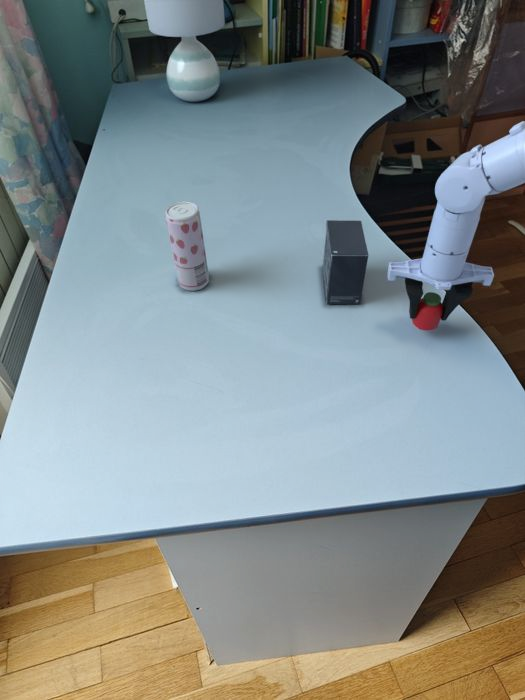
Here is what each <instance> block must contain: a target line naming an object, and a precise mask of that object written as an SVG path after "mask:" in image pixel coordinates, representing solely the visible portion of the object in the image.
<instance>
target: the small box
mask: <svg viewBox="0 0 525 700" xmlns="http://www.w3.org/2000/svg"><path fill="white" fill-rule="evenodd" d="M325 223H326V225H325V226H326V227H325V228H326V229H325V230H326V231H325V238H324V239H325V240H324V248H323V249H324V251H323V259H322V268H321V269H322V271H321V272H322V282H323V292H324V293H323V294H324V301H325V302H324V303H325V304H326V305H361V303H362V302H361V301H362V296H363V290H364V283H365V279H366V273H367V266H368V262H369V256H370V255H369V251H368V247H367V246H368V245H367V242H366V237H365V232H364V228H363V223H362V221H361V220H337V219H336V220H335V219H334V220H332V219H330V220H326V222H325Z"/></svg>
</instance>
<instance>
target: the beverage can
mask: <svg viewBox="0 0 525 700" xmlns="http://www.w3.org/2000/svg"><path fill="white" fill-rule="evenodd" d="M201 219H202V218H201V213H200V210H199V207H198V206H197V205H196V204H195V203H194V202H190V201H178V202H174V203H172V204H170V205H169V206H168V207H167V208H166V210H165V221H166V225H167V231H168V236H169V241H170V246H171V251H172V256H173V262H174V266H175V272H176V277H177V282H178V285H179V286H180V287H181V288H182V289H184V290H186V291H189V292H190V291H191V292H192V291H199V290H202V289H203V288H206V286H207V285H208V284H209V282H210V275H209V267H208V261H207V253H206V248H205V247H206V246H205V239H204V233H203V226H202V220H201Z"/></svg>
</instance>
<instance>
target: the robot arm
mask: <svg viewBox="0 0 525 700" xmlns="http://www.w3.org/2000/svg"><path fill="white" fill-rule="evenodd" d="M508 132H509V133H508V134H507V135H505V136H503V137H501V138H499V139H497V140H495V141H492V142H491V143H489V144H487V145H485V146H483V145H482V144H478V145H476V146H473V147H472V149H470V150H469V151H466V152H464V153H462V154H460V155H459V156H457V158H456V159H455V160H454V161H453V162H452V163H451V164H450V165H449V166H447V168H446V169H445V170H444V171H443V172H442V173H441V174H440V176H438V178H437V180H436V182H435V187H434V194H435V198H436V200H437V202H436V206H435V208H434V211H433V215H432V219H431V223H430V227H429V230H428V231H429V232H428V235H427V238H426V242H425V247H424V251H423V254H422V258H416V259H410V260H404V261H394V262H388V267H387V271H386V272H387V281H390V282H395V281H396V279H403V280H404V286H405V292H406V295H407V298H408V300H409V308H408V312H409V319H411V320H412V319H415V317H416V313H417V308H418V304H419V302H420V299H422V298H423V296H424V288H423V284H424V283H425V284H430V285H433V286H434V287H435V289H436V290H439V291H445V293H444V296H443V299H442V301H441V303H442V305H443V314H442V317H441V320H440V321H442V322H443V321H447V320H448V318H449V317H450V316H451V314H452V313H453V311H455V309H456V308H457V307H458V306H459V305H461V304H462V303H463V302H465V301H466V300H468V299H470V298H471V296H472V294H473V293H474V289H473V283H481V285H482V286H483V287H484V286H487V287H490V286H491V285H492V282H493V280H494V277H495V273H494V270H493V267H492V266H485V265H484V266H483V265H478V264H476V263H475V264H474V263H470V262H466V261H467V257H468V255H469V252H470V248H471V246H472V244H473V240H474V237H475V233H476V231H477V228H478V225H479V222H480V220H481V212H482V209H483V207H484V203H485V201H486V197H488V196H491V195H492V196H493V195H498V194H501V193H503V192H507V191H509V190H511V189H513V188H516V187H519V186H520V185H523V184H525V121H524V120H523V121H520V122H519V123H516V124H515V125H513V126H512V127H511V128H510V129H509V131H508Z"/></svg>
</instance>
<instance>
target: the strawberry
mask: <svg viewBox="0 0 525 700" xmlns="http://www.w3.org/2000/svg"><path fill="white" fill-rule="evenodd" d="M442 314H443V305H442V296H441V295H440V294H439V293H436V292H433V291H429V292H426V293H424V294H423V296H422V297H421V299H420V302H419V304H418V308H417V313H416V317H415V319H411V321H412V325H413V326H414V327H415V328H417V329H418V330H422V331H426V332H427V331H428V332H430V331H434V330H437V329H438V328H439V326H440V322H441V321H442V320H441V317H442Z"/></svg>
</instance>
